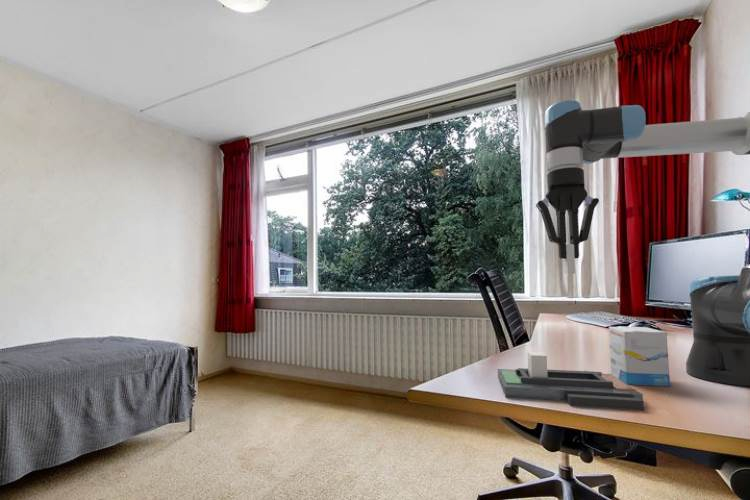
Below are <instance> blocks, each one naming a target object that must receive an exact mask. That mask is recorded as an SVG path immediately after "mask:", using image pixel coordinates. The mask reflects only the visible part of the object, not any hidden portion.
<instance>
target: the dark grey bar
mask: <svg viewBox="0 0 750 500" xmlns="http://www.w3.org/2000/svg"><path fill="white" fill-rule="evenodd" d="M567 400H568V401H567V404H568V405H569V406H570V407H571V406H572V407H573V406H574V407H584V408H585V407H586V408H588V407H589V408H604V409H618V410H620V409H621V410H636V411H645V404H644V403H645V401H644V399H643V400H641V399H640V398H629V397H612V396H595V395H578V394H567Z"/></svg>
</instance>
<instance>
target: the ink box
mask: <svg viewBox="0 0 750 500" xmlns="http://www.w3.org/2000/svg"><path fill="white" fill-rule="evenodd" d="M608 337H609V340H608V341H609V358H610V359H609V360H610V374H612V375H613V376H615V377H616V378H618V379H619V380H621V381H623V382H624V383H626V384H627V385H635V386H654V387H656V386H657V387H658V386H659V387H661V386H662V387H671V381H670V365H669V363H670V362H669V350H668V349H669V348H668V335H667V332H665V331H663V330H659V329H654V328H650V327H647V326H626V325H625V326H623V325H622V326H621V325H619V326H608Z"/></svg>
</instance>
